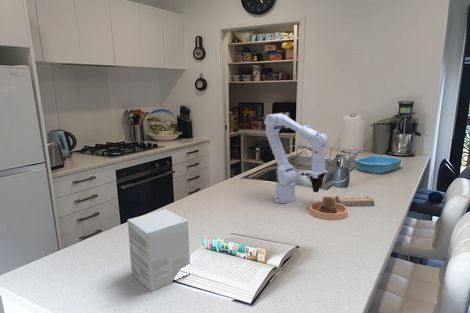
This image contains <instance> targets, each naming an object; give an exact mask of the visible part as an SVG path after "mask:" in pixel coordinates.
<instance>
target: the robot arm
mask: <svg viewBox="0 0 470 313" xmlns="http://www.w3.org/2000/svg"><path fill="white" fill-rule="evenodd" d="M263 123H264V125H265V135H266V138H267V140H268V144H269V147H270V149H271V151H272V153H273V156H274V159H275V161H276V165H277V166H278V168H277V169H276V174H277V183H276V184H275V189H274V198H275V199H274V203H280V204H288V203H292V202H295V200H296V183H297V181H298V179H299V173H298V171H297V170H296V169H295V166H294V165H292V163H289V162H290V161H289V159H288V156H287V154H286V152H285V149H284V146H283V143H282V141H281V139H280V136H279V132H280V130H281V129H282V128H283V127H284V126H285V127H287V128H289V129H290V130H293V131H294V132H297V133H298V135H299V136H298V137H300V138H301V139H304V140H305V141H307V142H308V143H310V145H311V148H312V154H311V155H312V156H311V171H310V172H311V173H312V175H310V176H309V180H310V182H311V186H312V191H313V193H319V191H320V188H322V186H323V182H324V178H325V176H326V174H327V173H328V170H327V169H326V154H327V150H326V149H327V145H328V144H329V137H328V135H327V134H326V133H324V132H323V133H322V132H321V133H320V130H319V131H318V130H315V129H313V128H311V127H312V126H311V125H308V124H307V125H301V124H300V123H298V122H297V121H295V120H293V119H292V118H290V117H289V116H288V115H286V114H284V113H283V112H279V113H269V114H267V115H266V117H265V118H264V121H263Z"/></svg>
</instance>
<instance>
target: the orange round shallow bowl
mask: <svg viewBox="0 0 470 313" xmlns="http://www.w3.org/2000/svg"><path fill="white" fill-rule="evenodd" d="M322 205H323V200H320V201H315V202H311V203H310V204H309V207H308V212H309V214H310V215H311V216H312V217H314V218H317V219H321V220H326V221H327V220H329V221H339V220H344V219H345V218H347V216H348V215H349V214H348V210H349V208H348V206H344V205H342V204H340V203H336V202H335V208H337V213H322V212H319V208H320V206H322Z"/></svg>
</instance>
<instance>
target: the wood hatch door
mask: <svg viewBox="0 0 470 313" xmlns="http://www.w3.org/2000/svg"><path fill="white" fill-rule="evenodd" d="M335 198H336V196H326V195H324V196H323V197H322V201H323V205H322V209H325V210H333V211H335V200H336V199H335Z"/></svg>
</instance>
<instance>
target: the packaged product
mask: <svg viewBox="0 0 470 313" xmlns="http://www.w3.org/2000/svg"><path fill="white" fill-rule="evenodd" d="M335 202H336V203H340V204H342V205H344V206H346V207H374V206H375V200H374V198H372V197H371V196H370V195H335Z"/></svg>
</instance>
